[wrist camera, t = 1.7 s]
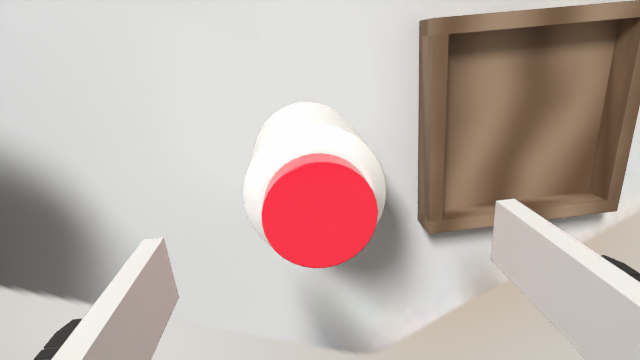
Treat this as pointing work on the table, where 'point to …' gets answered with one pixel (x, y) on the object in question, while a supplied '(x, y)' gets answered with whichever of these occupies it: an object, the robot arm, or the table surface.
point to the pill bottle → (313, 186)
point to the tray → (526, 112)
